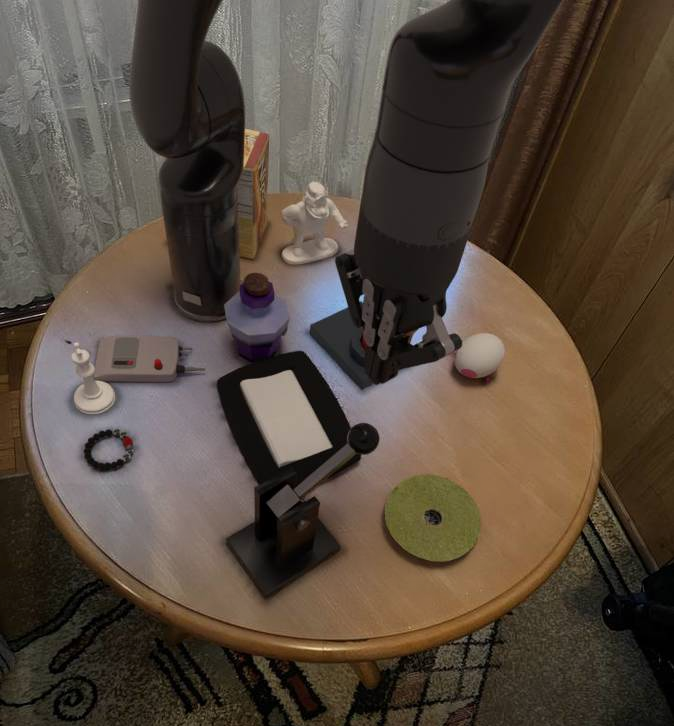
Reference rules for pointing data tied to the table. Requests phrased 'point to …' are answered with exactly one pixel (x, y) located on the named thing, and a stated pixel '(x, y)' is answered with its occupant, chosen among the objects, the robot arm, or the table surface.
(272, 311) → the potion bottle
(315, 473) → the switch lever
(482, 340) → the stress ball
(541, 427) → the table surface
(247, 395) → the light switch
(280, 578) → the switch bracket
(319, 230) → the figurine
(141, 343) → the grey electronic device
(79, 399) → the chess piece
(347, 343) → the control box
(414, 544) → the mat
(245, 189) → the candy box
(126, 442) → the bracelet
